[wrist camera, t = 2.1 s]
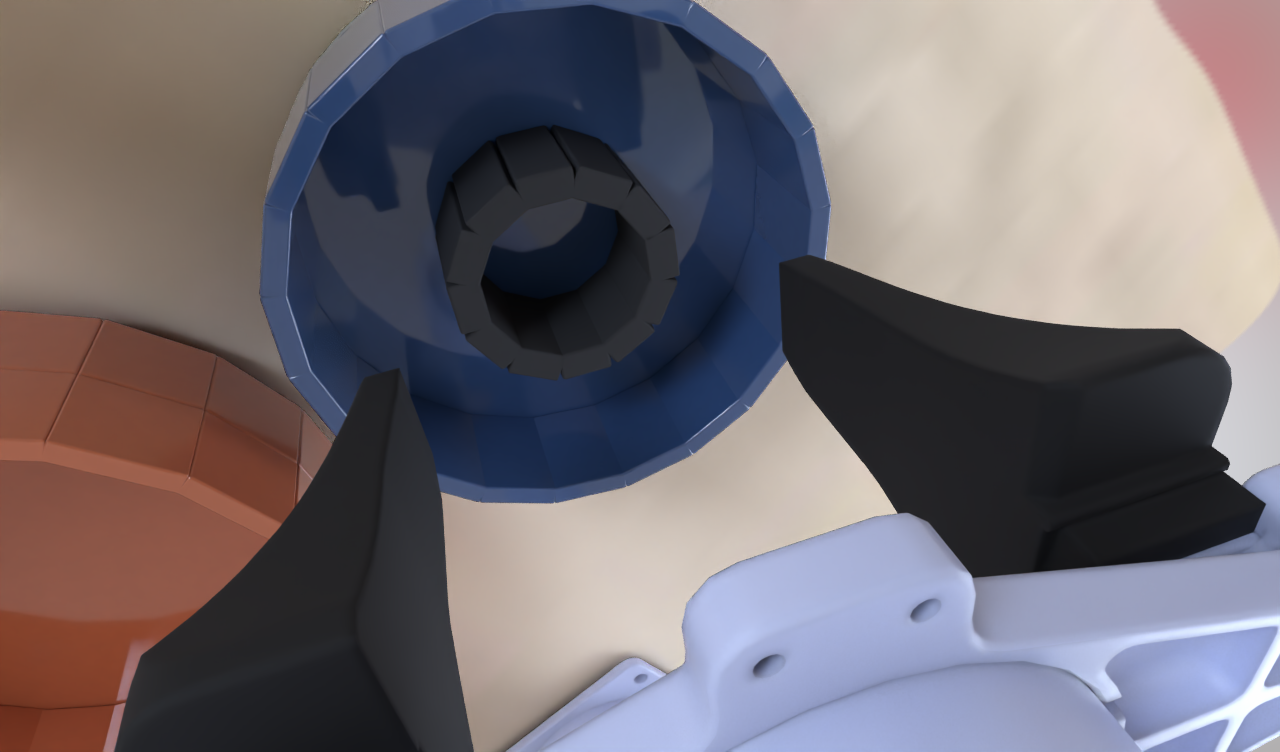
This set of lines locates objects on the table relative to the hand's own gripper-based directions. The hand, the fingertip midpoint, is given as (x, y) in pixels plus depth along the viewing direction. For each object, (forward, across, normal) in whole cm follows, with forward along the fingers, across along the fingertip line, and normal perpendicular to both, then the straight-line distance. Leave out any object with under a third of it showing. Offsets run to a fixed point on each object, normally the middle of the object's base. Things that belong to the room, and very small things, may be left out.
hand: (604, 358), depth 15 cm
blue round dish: (+6, 0, 0) cm, 7 cm away
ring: (+6, 0, 0) cm, 6 cm away
